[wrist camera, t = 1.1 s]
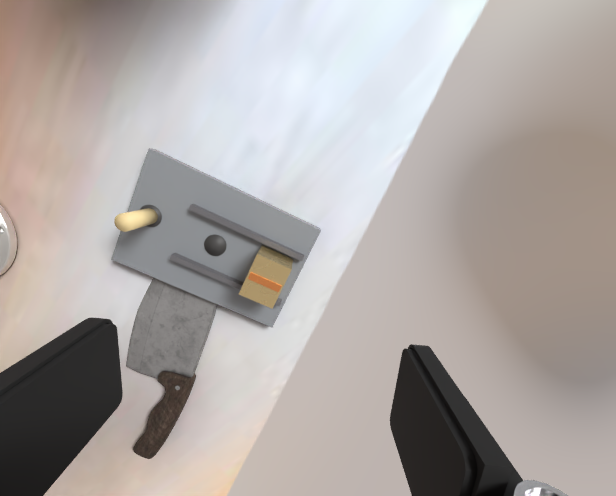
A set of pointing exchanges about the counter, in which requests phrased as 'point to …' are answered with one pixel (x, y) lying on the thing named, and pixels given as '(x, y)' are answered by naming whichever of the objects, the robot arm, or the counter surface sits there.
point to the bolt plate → (206, 235)
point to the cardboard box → (266, 277)
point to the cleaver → (168, 353)
